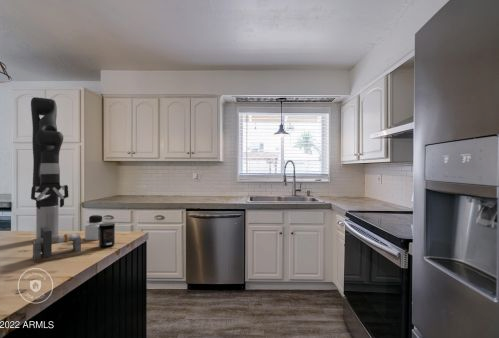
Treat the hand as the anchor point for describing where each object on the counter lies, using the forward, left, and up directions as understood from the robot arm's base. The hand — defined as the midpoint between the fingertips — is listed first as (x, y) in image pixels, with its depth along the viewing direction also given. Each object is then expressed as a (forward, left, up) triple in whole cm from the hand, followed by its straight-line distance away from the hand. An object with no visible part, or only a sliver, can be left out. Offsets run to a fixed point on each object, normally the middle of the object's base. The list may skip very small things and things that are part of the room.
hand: (50, 207), depth 133 cm
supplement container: (+16, +20, -18) cm, 32 cm away
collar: (+19, -4, -16) cm, 25 cm away
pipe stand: (+19, 0, -18) cm, 26 cm away
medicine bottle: (-3, +20, -18) cm, 27 cm away
